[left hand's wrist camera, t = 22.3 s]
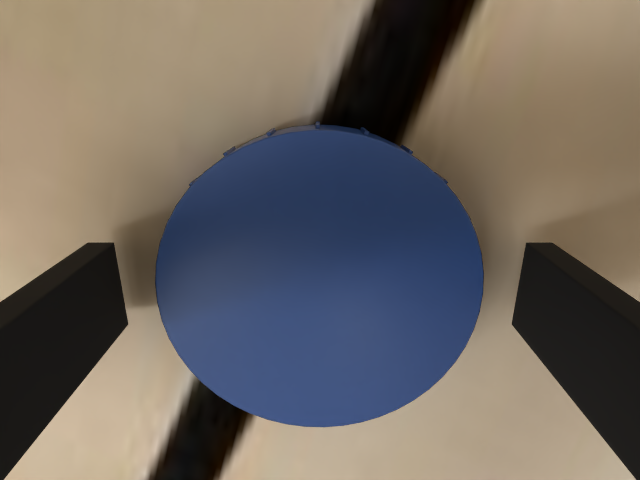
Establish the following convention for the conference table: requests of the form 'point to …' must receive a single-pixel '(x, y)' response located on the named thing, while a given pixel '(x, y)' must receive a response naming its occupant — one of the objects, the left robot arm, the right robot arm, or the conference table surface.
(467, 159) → the conference table surface
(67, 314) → the left robot arm
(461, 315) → the lid
